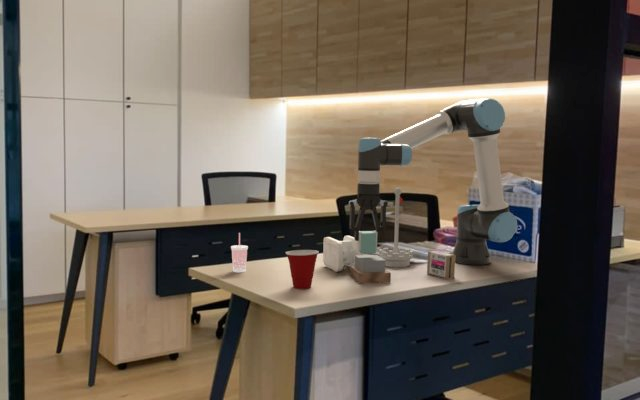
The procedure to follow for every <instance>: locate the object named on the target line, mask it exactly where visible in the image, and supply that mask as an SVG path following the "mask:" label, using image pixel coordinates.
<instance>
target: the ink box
mask: <svg viewBox="0 0 640 400" xmlns="http://www.w3.org/2000/svg"><path fill="white" fill-rule="evenodd" d="M455 258H456V255H452V253H447V252H441V251H438V250H431V251H430V250H429V251H428V252H427V264H426V266H427V268H426V274H427V275H432V276H436V277H439V278H442V279H446V280H451V279H454V278H455V271H456V270H455V269H456V262H455Z"/></svg>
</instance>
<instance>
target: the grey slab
mask: <svg viewBox="0 0 640 400" xmlns="http://www.w3.org/2000/svg"><path fill="white" fill-rule="evenodd" d="M355 267H356V268H357V269H359V270H360V271H361V272H362V273H365V272H385V269H386V266H385V260H384V259H383V258H381V257H380V256H379V254H378V255H377V254H362V255H355Z"/></svg>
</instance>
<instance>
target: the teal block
mask: <svg viewBox="0 0 640 400" xmlns="http://www.w3.org/2000/svg"><path fill="white" fill-rule="evenodd" d="M359 231H360V232H361V251H359V252H360V253H361V254H362V255H375V254H376V253H377V251H376V233H375V232H373V231H374V230H359Z"/></svg>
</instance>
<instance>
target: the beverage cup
mask: <svg viewBox="0 0 640 400" xmlns="http://www.w3.org/2000/svg"><path fill="white" fill-rule="evenodd" d="M248 249H249V246H248V245H245V244H244V245H243V244H241V232H238V245H237V244H236V245H235V244H234V245H231V246H230V250H231V259H232V260H231V261H232V271H233V273H245V272H246V271H247V258H248Z"/></svg>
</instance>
